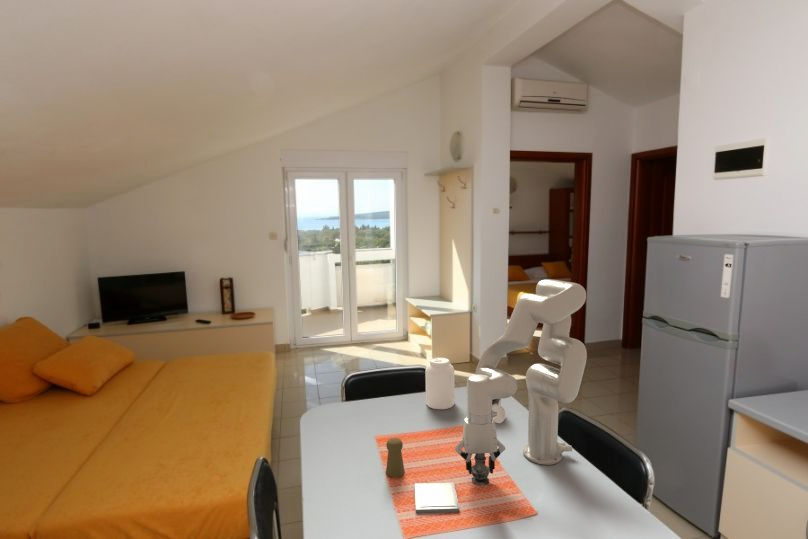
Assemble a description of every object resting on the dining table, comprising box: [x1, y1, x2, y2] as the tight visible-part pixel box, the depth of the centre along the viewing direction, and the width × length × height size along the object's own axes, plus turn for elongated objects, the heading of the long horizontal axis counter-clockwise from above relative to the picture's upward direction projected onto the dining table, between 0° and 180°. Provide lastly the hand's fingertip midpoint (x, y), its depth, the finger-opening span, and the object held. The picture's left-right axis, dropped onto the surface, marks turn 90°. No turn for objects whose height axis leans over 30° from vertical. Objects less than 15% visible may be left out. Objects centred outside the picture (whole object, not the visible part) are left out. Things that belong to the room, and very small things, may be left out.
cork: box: [385, 437, 405, 479], centre depth 143 cm, size 6×6×11 cm
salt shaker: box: [471, 453, 490, 486], centre depth 138 cm, size 6×6×12 cm
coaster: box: [414, 482, 460, 514], centre depth 130 cm, size 12×12×1 cm
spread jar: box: [492, 399, 507, 424], centre depth 180 cm, size 12×11×12 cm
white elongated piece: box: [424, 356, 456, 410], centre depth 193 cm, size 12×12×20 cm
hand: (480, 470), depth 138 cm, fingers closed on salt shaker, 5 cm apart
